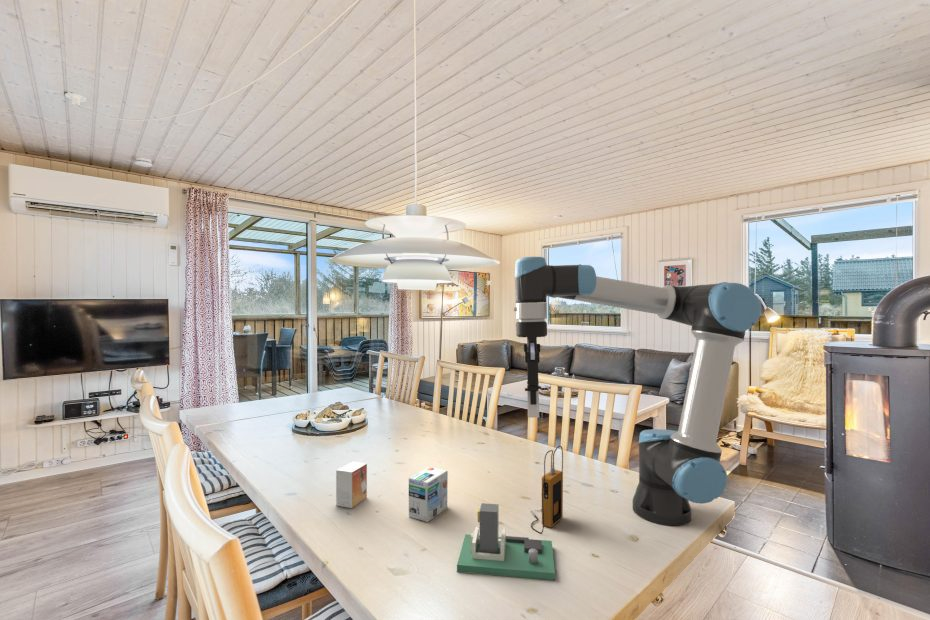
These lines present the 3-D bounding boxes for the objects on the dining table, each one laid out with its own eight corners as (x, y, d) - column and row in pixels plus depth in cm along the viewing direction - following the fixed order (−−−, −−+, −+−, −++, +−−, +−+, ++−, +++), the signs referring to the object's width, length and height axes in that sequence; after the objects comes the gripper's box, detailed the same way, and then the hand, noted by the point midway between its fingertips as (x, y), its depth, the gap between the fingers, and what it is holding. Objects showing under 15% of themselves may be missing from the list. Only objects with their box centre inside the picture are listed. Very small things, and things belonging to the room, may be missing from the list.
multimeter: (537, 503, 128) (537, 436, 128) (568, 513, 122) (569, 442, 122) (510, 523, 117) (510, 448, 117) (544, 535, 111) (544, 456, 111)
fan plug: (498, 546, 102) (498, 504, 102) (497, 556, 98) (497, 512, 98) (478, 545, 103) (479, 503, 103) (477, 554, 99) (477, 510, 99)
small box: (351, 509, 125) (351, 472, 125) (335, 506, 127) (335, 469, 127) (367, 497, 132) (367, 463, 132) (351, 495, 134) (351, 460, 134)
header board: (551, 547, 105) (551, 526, 105) (554, 580, 92) (554, 556, 92) (465, 540, 108) (465, 520, 108) (456, 571, 95) (456, 548, 95)
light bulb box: (427, 523, 117) (427, 482, 117) (407, 517, 120) (407, 478, 120) (448, 507, 126) (448, 470, 126) (429, 502, 130) (429, 465, 130)
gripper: (516, 320, 114) (518, 410, 114) (515, 321, 101) (517, 423, 101) (545, 319, 113) (547, 410, 113) (548, 321, 100) (550, 424, 100)
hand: (533, 416), depth 107 cm, fingers closed
